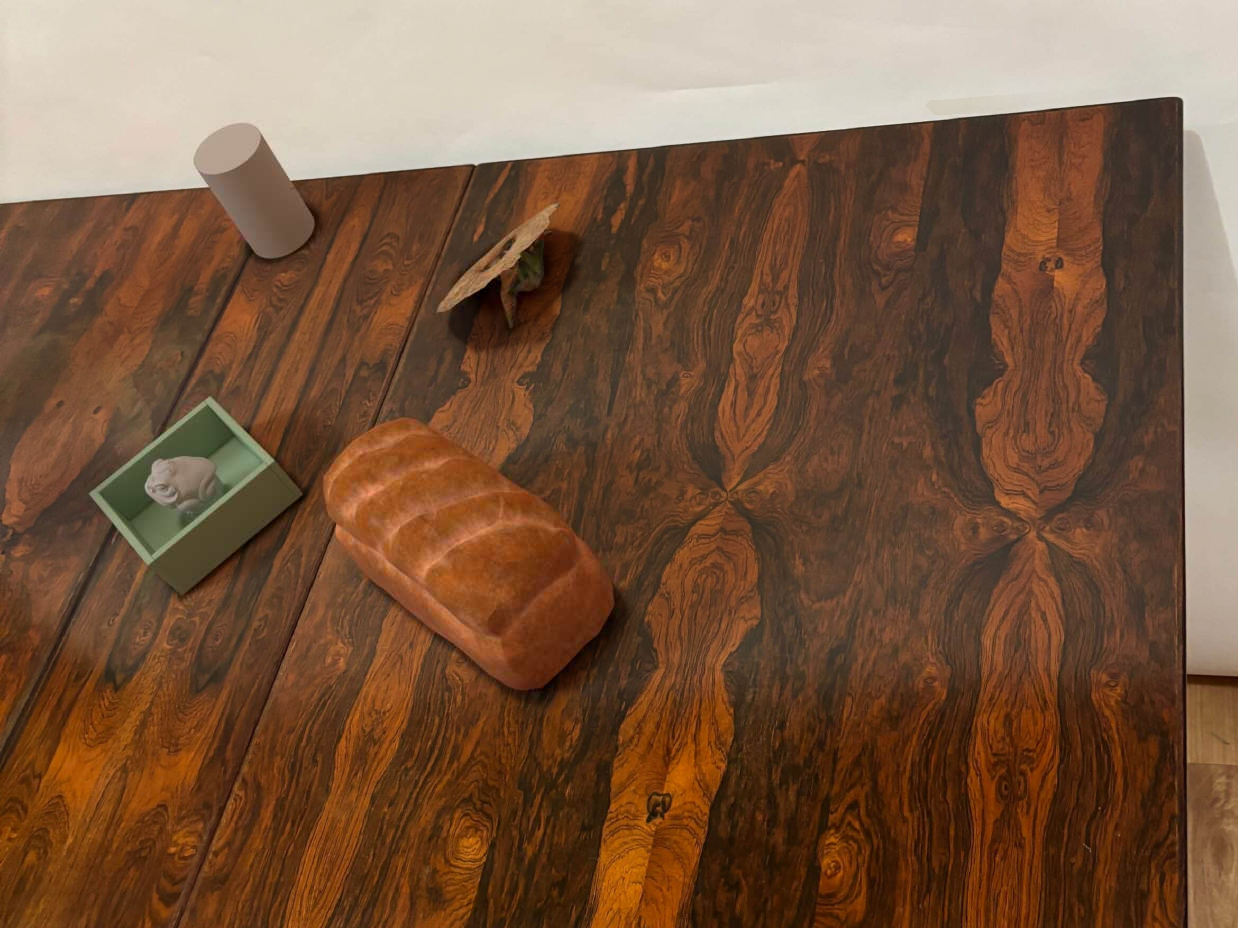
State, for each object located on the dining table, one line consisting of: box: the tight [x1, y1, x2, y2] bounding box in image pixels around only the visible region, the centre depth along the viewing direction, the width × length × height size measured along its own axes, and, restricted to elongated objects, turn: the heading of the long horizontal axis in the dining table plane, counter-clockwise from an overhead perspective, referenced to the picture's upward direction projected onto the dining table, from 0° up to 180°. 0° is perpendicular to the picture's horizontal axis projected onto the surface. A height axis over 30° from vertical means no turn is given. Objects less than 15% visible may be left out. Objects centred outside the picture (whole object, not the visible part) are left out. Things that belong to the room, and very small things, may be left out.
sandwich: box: [436, 202, 561, 329], centre depth 123 cm, size 18×14×8 cm
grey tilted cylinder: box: [193, 122, 315, 259], centre depth 134 cm, size 8×8×12 cm
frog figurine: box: [145, 456, 223, 515], centre depth 117 cm, size 6×7×7 cm
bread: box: [322, 417, 615, 691], centre depth 102 cm, size 14×26×16 cm, turn 47°
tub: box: [88, 395, 304, 596], centre depth 118 cm, size 16×14×6 cm
